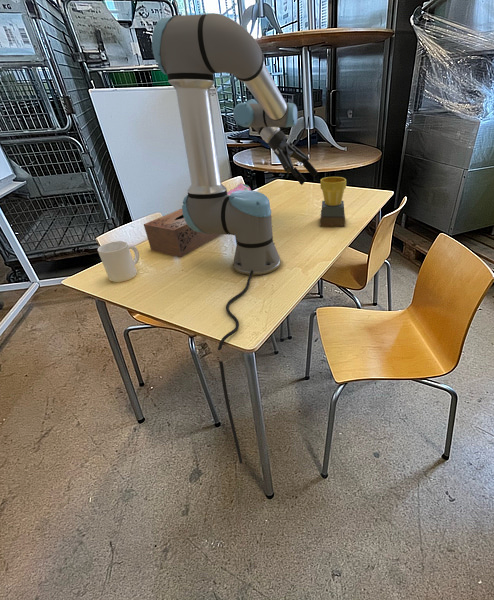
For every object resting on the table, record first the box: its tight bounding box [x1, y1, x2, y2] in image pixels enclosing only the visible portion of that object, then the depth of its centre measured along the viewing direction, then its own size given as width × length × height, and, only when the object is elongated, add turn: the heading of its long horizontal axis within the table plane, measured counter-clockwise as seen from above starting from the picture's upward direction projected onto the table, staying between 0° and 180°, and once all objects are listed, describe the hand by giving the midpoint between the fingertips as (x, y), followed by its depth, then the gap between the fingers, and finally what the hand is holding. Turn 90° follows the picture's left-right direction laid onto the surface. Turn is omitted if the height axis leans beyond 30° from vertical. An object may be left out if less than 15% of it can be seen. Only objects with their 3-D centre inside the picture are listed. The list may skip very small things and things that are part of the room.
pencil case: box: [227, 182, 252, 196], centre depth 162 cm, size 21×9×9 cm, turn 162°
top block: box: [321, 200, 345, 217], centre depth 139 cm, size 9×9×4 cm
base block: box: [319, 209, 346, 228], centre depth 141 cm, size 10×10×4 cm
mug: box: [97, 240, 140, 283], centre depth 105 cm, size 12×8×10 cm
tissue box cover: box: [143, 208, 222, 258], centre depth 127 cm, size 26×14×10 cm, turn 154°
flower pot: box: [319, 176, 347, 206], centre depth 136 cm, size 10×10×10 cm
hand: (310, 178), depth 136 cm, fingers open, 13 cm apart
